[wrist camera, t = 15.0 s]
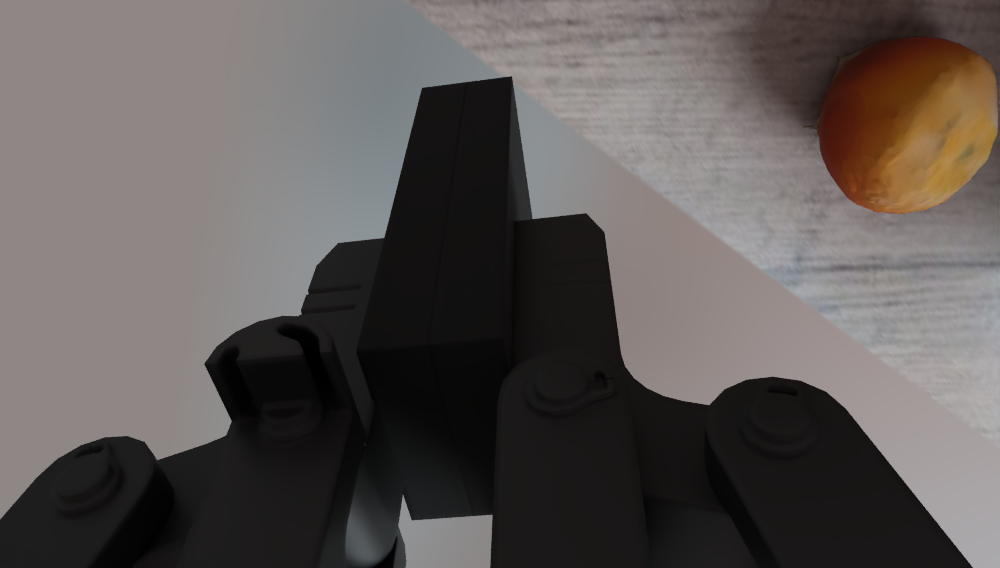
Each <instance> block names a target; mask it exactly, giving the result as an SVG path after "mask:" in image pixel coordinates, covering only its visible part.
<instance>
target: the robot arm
mask: <svg viewBox="0 0 1000 568" xmlns="http://www.w3.org/2000/svg"><path fill="white" fill-rule="evenodd" d="M527 185H528V184H527V178H526V171H525V164H524V157H523V150H522V143H521V137H520V129H519V123H518V116H517V108H516V101H515V95H514V88H513V81H512V76H511V77H503V78H496V79H488V80H480V81H472V82H465V83H457V84H450V85H442V86H434V87H426V88H422V90H421V94H420V98H419V102H418V107H417V110H416V115H415V118H414V123H413V127H412V130H411V135H410V138H409V142H408V147H407V150H406V154H405V158H404V162H403V167H402V170H401V174H400V178H399V182H398V186H397V190H396V194H395V198H394V202H393V207H392V210H391V214H390V218H389V222H388V226H387V230H386V234H385V238H381V239H371V240H362V241H353V242H344V243H338V244H337V245H336V246H335V247H334V248H333V249H332V250H331V251H330V252H329V253H328V254H327V255H326V257H325V258H324V259H323V260H322V261H321V262H320V263H319V264H318V265H317V266H316V269H315V272H314V275H313V278H312V280H311V283H310V286H309V289H308V292H309V295H306V297H305V301H304V303H303V306H302V309H301V312H302V315H299V316H281V317H276V318H272V319H268V320H263V321H259V322H256V323H254V324H252V325H250V326H248V327H246V328H243V329H241V330H239V331H237V332H235V333H234V334H233V335H231V336H230V337H229V338H227V339H226V340H225V341H224V342H222V343H221V344H220V345H218V346H217V347H216V348H215V350H214V351H213V352H212V354H211V355H210V357H209V358H208V359H207V361H206V362H205V366H206V368H207V370H208V372H209V374H210V377H211V379H212V381H213V383H214V385H215V387H216V389H217V391H218V393H219V395H220V397H221V400H222V401H223V404H224V406H225V408H226V410H227V412H228V414H229V416H230V418H231V420H232V423H231V425H230V428H229V430H228V433H227V435H226V436H224V437H222V438H220V439H217V440H215V441H212V442H210V443H208V444H205V445H202V446H199V447H196V448H193V449H190V450H187V451H184V452H181V453H178V454H175V455H172V456H169V457H166V458H163V459H160V460H156V458H155V456H154V455H153V453H152V452H151V451H150V449H149V448H148V446H147V445H146V444H145V442H143V441H140V440H137V439H134V438H131V437H128V436H123V437H106V438H102V439H100V440H96V441H93V442H90V443H87V444H84V445H81V446H79V447H77V448H76V449H74V450H72V451H71V452H69V453H67V454H66V455H64V456H62V457H60V458H58V459H57V460H56V461H55V462H54V463H53V464H51V465H50V466H49V467H48V468H47V469H46V470H45V471H44V472H42V473H41V474H40V475H39V476H38V477H37V478H36V479H35V480H34V482H33V483H32V484H31V485H30V486H29V487H28V488H27V489H26V491H25V492H24V493H23V494H22V495H21V496H20V498H19V499H18V500H17V501H16V502H15V503H14V504H13V506H12V507H11V508H10V509H9V510H8V511H7V512H6V514H5V515H4V516H3V517H2V518H1V519H0V568H405V567H406V554H405V544H404V541H403V539H402V536H401V533H400V530H399V527H398V523H399V517H400V510H401V503H402V497H403V495H404V498H405V501H406V504H407V507H408V510H409V513H410V516H411V519H412V520H423V519H437V518H451V517H465V516H478V515H493V520H492V543H491V566H490V568H973V567H972V566H971V565H970V563H969V562H968V561H967V560H966V558H965V557H964V556H963V555H962V554H961V552H960V551H959V550H958V548H957V547H956V546H955V545H954V544H953V542H952V541H951V540H950V538H949V537H948V536H947V535H946V533H945V532H944V531H943V530H942V529H941V528H940V526H939V525H938V523H937V522H936V521H935V520H934V519H933V517H932V516H931V515H930V514H929V512H928V511H927V510H926V509H925V507H924V506H923V505H922V503H921V502H920V501H919V500H918V499H917V497H916V496H915V495H914V493H913V492H912V491H911V490H910V489H909V487H908V486H907V485H906V484H905V482H904V481H903V480H902V478H901V477H900V476H899V475H898V474H897V472H896V471H895V470H894V469H893V467H892V466H891V465H890V464H889V462H888V461H887V460H886V459H885V457H884V456H883V455H882V454H881V452H880V451H879V450H878V449H877V447H876V446H875V445H874V444H873V442H872V441H871V440H870V439H869V437H868V436H867V435H866V434H865V432H864V431H863V430H862V429H861V427H860V426H859V425H858V424H857V422H856V421H855V420H854V419H853V417H852V416H851V415H850V414H849V412H848V411H847V410H846V409H845V408H844V407H843V406H842V405H841V404H840V403H838V402H837V401H836V400H835V399H834V398H833V397H831V396H830V395H829V394H828V393H827V392H825V391H823V390H820V389H818V388H816V387H814V386H811V385H809V384H807V383H804V382H802V381H798V380H791V379H784V378H778V377H768V378H759V379H750V380H745V381H743V382H741V383H738V384H736V385H734V386H731V387H729V388H727V389H725V390H724V391H723V392H722V393H721V394H720V395H719V396H718V397H717V398H716V399H715V400H714V401H713V402H712V403H711V404H710V405H704V404H698V403H692V402H685V401H681V400H677V399H673V398H669V397H665V396H662V395H660V394H658V393H656V392H654V391H651V390H649V389H647V388H646V387H644V386H643V385H642V384H641V383H639V382H638V381H637V380H635V379H634V378H633V376H632V375H631V374H630V372H629V371H628V370H627V368H626V367H625V365H624V362H623V359H622V356H621V351H620V344H619V336H618V328H617V322H616V314H615V307H614V299H613V293H612V285H611V278H610V270H609V263H608V256H607V248H606V241H605V234H604V232H603V231H602V229H601V228H600V227H599V226H598V225H597V224H596V223H595V222H594V221H593V220H592V219H591V218H590V217H589V216H588V215H587V214H586V213H585V214H576V215H567V216H559V217H550V218H540V219H532V212H531V205H530V198H529V191H528V186H527Z"/></svg>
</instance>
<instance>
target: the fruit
mask: <svg viewBox="0 0 1000 568" xmlns="http://www.w3.org/2000/svg"><path fill="white" fill-rule="evenodd" d="M837 58H838V62H839V66H838V69H837V71H836V73H835V76H834V78H833V80H832V83H831V85H830V86H829V88H828V90H827V92H826V95H825V97H824V100H823V105H822V111H821V116H820V118H819V120H818V121H817V122H816V124H815V125H811V126H804V128H809V129H817V133H818V136H819V141H820V151H821V155H822V157H823V160H824V162H825V165H826V167H827V169H828V171H829V173H830V175H831V176H832V178H833V179H834V181H835V182H836V184H837V185H838V186H839V188H840V189H841V190H842V191H843V193H844V194H845V195H846V196H847V197H848V198H849V199H850V200H851V201H852V202H854V203H856V204H857V205H860V206H863V207H865V208H868V209H870V210H873V211H875V212H886V213H893V214H904V213H910V212H913V211H923V210H926V209H928V208H931V207H934V206H936V205H938V204H942V203H944V202H945V201H946V200H947V199H949V198H950V197H951V196H952V195H953V194H955V193H956V192H957V191H958V190H959V189H960V188H961V187H963V186H964V185H965V184H966V183H967V182H968V181H969V180H970V179H972V177H973V176H974V175H975V174H976V172H977V171H978V169H979V168H980V167H981V166H983V165H984V163H985V162H986V161H987V159H988V157H989V155H990V152H991V149H992V146H993V143H994V140H995V138H996V136H997V130H998V98H997V83H996V77H995V73H994V71H993V68H992V66H991V64H990V63H989V62H988V61H987V60H986V59H984V58H983V57H981V56H980V55H979V54H977V53H975V52H974V51H972V50H970V49H968V48H966V47H964V46H962V45H960V44H958V43H955V42H952V41H949V40H945V39H940V38H932V37H908V38H898V39H885V40H882V41H880V42H877V43H874V44H871V45H869V46H867V47H865V48H863V49H861V50H859V51H858V52H856V53H854V54H852V55H849V56H844V57H841V58H839V57H837Z"/></svg>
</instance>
